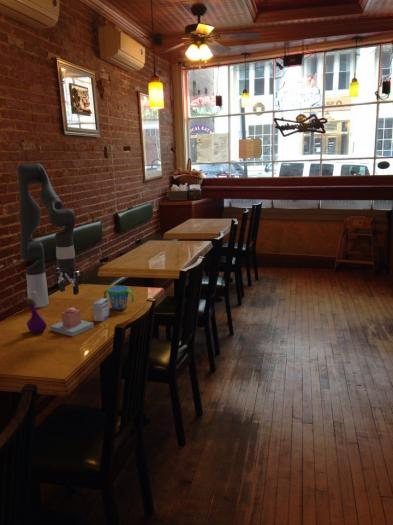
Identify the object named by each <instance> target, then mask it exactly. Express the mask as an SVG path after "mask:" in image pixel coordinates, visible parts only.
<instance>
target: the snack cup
mask: <svg viewBox="0 0 393 525" xmlns="http://www.w3.org/2000/svg"><path fill="white" fill-rule="evenodd" d="M107 293H108V296H109V298H108V297H107ZM129 295H130V296H131V301H130V302H131V303H132V304H133V303H134V301H135V296H134V293H133V291H132V290H131V289H130V287H129V286H127V285H114V286H110V287H108V288H106V290H105V291H104V292H103V298H106V299H109V302H110V305H111V308H112V310H115V311H116V310H117V311H118V310H120V311H121V310H125V309H127V307H128V301H129V300H128V298H129Z"/></svg>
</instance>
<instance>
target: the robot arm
mask: <svg viewBox="0 0 393 525" xmlns="http://www.w3.org/2000/svg"><path fill="white" fill-rule="evenodd" d="M45 169H46V168H45V167H43V164H41V163H39V162H31V163H21V164H19V165H18V167H17V183H18V190H19V192H18V193H19V194H18V195H19V226H20V240H19V241H20V243H19V254H20V258H21V260H22V261H24V262H30V261H35V262H34V263H32V264H31V265H29V266H28V267H26V268H25V277H26V284H27V287H26V292H27V299H29V297H30V299H33V302H35V303H36V304H35V305H34V307H35V309H36V308H37V309H39V308H45V307H47V306H49V303H50V302H49V294H48V285H47V283H48V282H47V275H46V264H45V250H44V244H43V243H42V242H41V241H40V240H38V241H36V240H35V241H30V239H31V237H32V235H33V233H34V232H35V231H36V230H37V229H38V228H39V226H40V223H41V221H42V220H41V215H42V214H41V207H40V205H39V204H38V202H37V200H35V199H34V197H33V196H32V194H31V193H30V191H29V186H30V185H31V186H32V185H38V184H40V185H41V189H40V193H39V199H40V202H41V204H42V205H43V206H44V208H45V209H46V212H47V216H48V222H49V224H50V225H51V226H52V227H55V228H57V227H58V228H59V227H64V228H63V229H62V230H59V231H58V232H56V233H55V236H54V239H55V255H56V266H57V267H55V268H54V269H53V270H54V281H55V282H57V283H58V290H59V292H61V293H62V292H65V291H66V286H65V281H66V280H67V281H69V283H71V285H72V292H73V295H75V296H77V295H79V293H80V291H79V286H82V284H83V282H82V272H81V270H77V271H76V269H75V267H76V266H77V262H76V251H75V247H74V238H73V237H74V230H75V224H76V213H75V211H74V210H73V209H72V208H63V206H64V205H63V201H62V200H61V199H60V197H59V196H58V194H57V193H56V191H55V189H54V188H53V185H52V183H51V181H50V179H49V175H48V174H47V172H46V170H45ZM33 291H36V292H37V293H38V294H39V296H38V294H37V293H33V294H32V295H31V296H30V294H31V293H32V292H33Z"/></svg>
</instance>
